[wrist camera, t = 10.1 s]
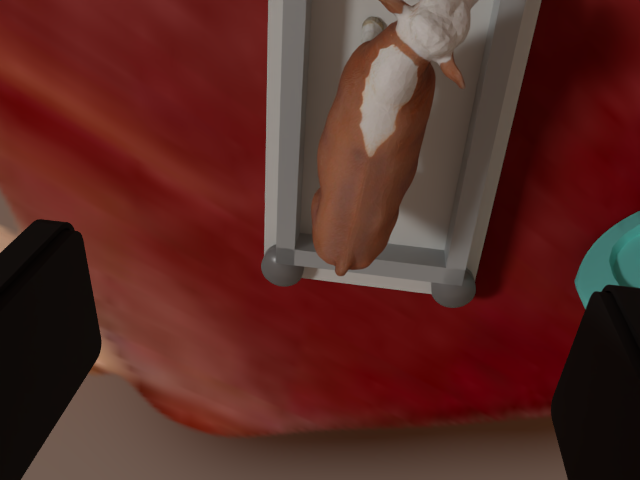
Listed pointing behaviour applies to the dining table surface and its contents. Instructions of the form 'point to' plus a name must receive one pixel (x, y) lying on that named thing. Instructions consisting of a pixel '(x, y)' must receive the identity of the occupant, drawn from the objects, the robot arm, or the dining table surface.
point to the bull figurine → (381, 127)
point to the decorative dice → (612, 259)
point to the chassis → (435, 154)
